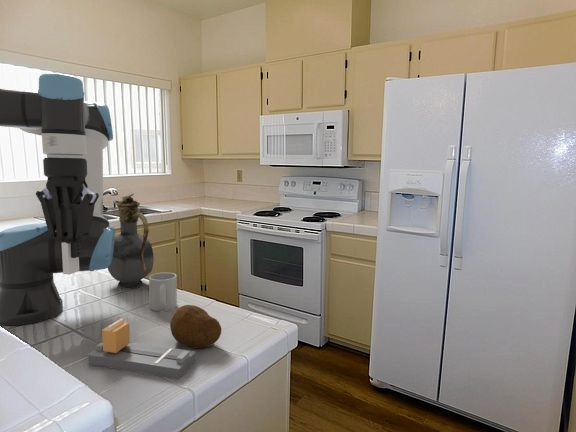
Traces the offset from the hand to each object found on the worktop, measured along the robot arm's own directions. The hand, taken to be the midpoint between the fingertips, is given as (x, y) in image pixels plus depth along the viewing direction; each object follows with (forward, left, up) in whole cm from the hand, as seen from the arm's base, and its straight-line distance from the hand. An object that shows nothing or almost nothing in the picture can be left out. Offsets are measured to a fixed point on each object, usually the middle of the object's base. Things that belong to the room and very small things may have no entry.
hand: (71, 272), depth 79 cm
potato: (+22, +10, -18) cm, 30 cm away
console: (+16, 0, -18) cm, 24 cm away
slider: (+10, 0, -15) cm, 18 cm away
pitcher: (-14, +41, -18) cm, 46 cm away
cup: (+5, +27, -18) cm, 32 cm away
